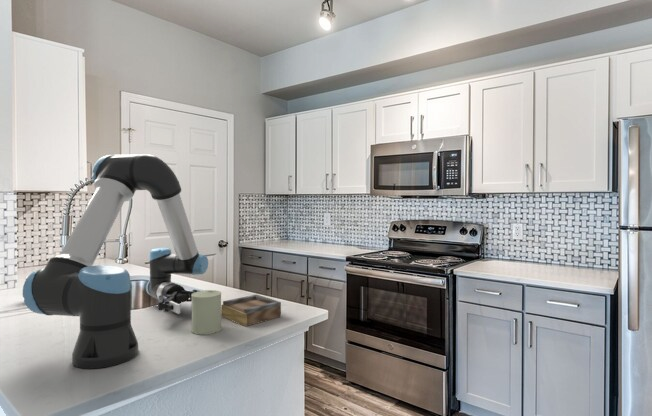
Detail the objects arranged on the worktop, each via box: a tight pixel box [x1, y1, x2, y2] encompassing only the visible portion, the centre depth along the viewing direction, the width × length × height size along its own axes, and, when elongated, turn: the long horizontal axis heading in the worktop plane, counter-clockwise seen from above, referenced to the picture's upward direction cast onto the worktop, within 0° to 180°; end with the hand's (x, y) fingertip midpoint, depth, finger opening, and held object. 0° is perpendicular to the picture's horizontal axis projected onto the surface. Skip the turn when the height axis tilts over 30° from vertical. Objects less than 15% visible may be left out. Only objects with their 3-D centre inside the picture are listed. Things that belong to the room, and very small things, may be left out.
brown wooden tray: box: [221, 294, 282, 327], centre depth 137 cm, size 15×15×5 cm
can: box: [191, 289, 223, 336], centre depth 123 cm, size 9×9×12 cm
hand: (199, 305), depth 128 cm, fingers open, 13 cm apart
